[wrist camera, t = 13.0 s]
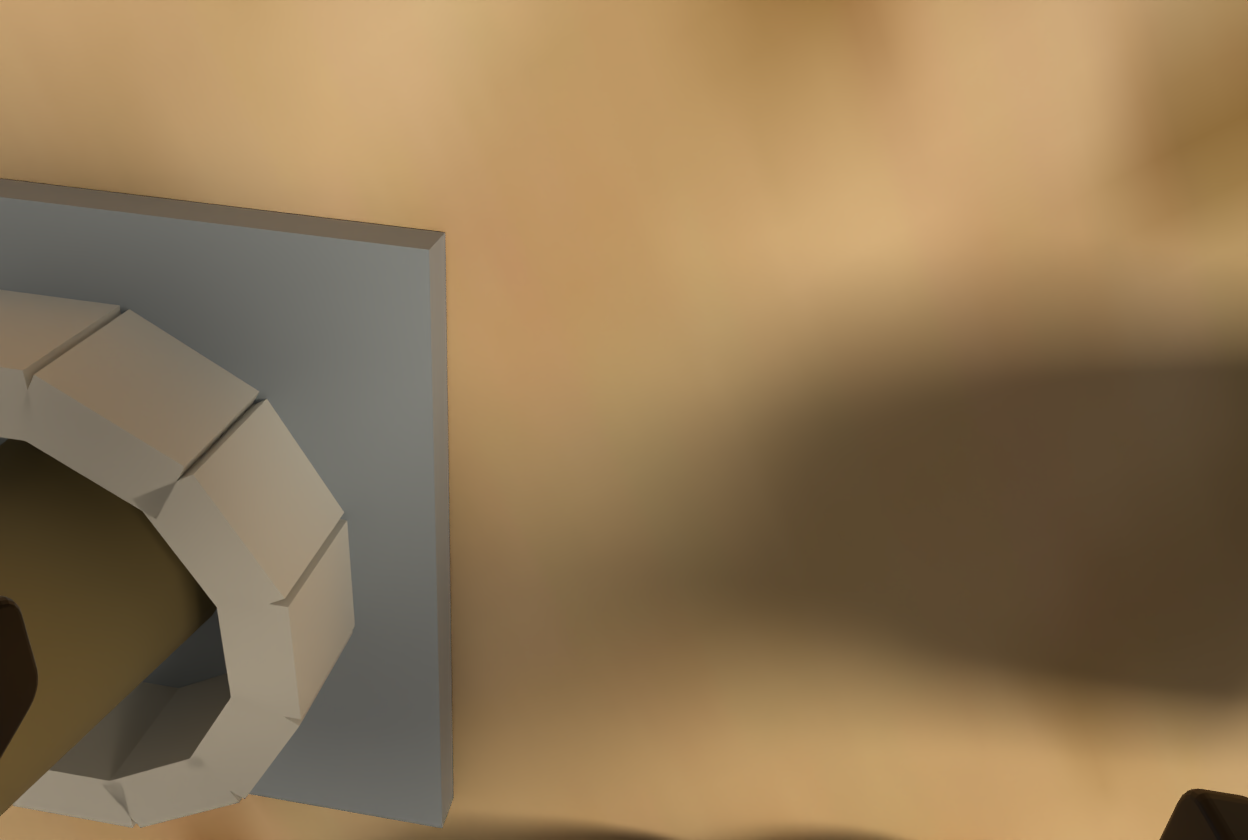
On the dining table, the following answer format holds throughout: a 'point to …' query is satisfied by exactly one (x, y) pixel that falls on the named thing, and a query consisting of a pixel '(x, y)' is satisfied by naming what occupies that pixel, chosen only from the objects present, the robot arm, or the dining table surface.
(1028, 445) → the dining table surface
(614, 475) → the dining table surface
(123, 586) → the cork
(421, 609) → the mount
